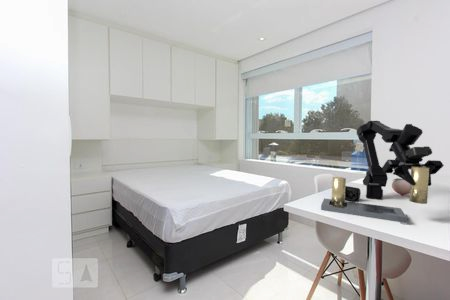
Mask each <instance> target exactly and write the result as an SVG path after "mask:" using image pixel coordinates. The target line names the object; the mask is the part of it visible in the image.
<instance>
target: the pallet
mask: <svg viewBox="0 0 450 300" xmlns="http://www.w3.org/2000/svg"><path fill="white" fill-rule="evenodd" d="M322 200H323V201H322V202H321V205H320V206H321V207H320V210H321V211H324V212H325V211H326V212H332V213H338V214H344V215H350V216H355V217H356V216H357V217H364V218H370V219H377V220H384V221H389V222H398V223H400V224H401V225H408V216H407V215H406V214H405V212H404V210H403V209H402V208H400V207H393V206H385V205H379V204H378V205H377V204H369V203H362V202H357V201H355V202H350V201H345V207H343V206H336V205H332V198H323V199H322Z"/></svg>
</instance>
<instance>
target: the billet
mask: <svg viewBox="0 0 450 300" xmlns="http://www.w3.org/2000/svg"><path fill="white" fill-rule="evenodd" d="M346 181H347V179H346V177H341V176H332V181H331V184H332V186H331V199H332V205H336V206H343V207H345V187H346V186H347V185H346V184H347V183H346Z"/></svg>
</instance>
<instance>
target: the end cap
mask: <svg viewBox="0 0 450 300" xmlns="http://www.w3.org/2000/svg"><path fill="white" fill-rule="evenodd" d="M361 194H362V193H361V189H360V188H359V187H353V186H349V185H346V187H345V201H348V202H358V201H359V200H360V198H361Z"/></svg>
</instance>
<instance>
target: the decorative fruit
mask: <svg viewBox="0 0 450 300" xmlns="http://www.w3.org/2000/svg"><path fill="white" fill-rule="evenodd" d="M391 188H392V189H393V191H394V192H396V193H397V194H398V195H400V196H406V195H410V184H409V183H408V182H407V181H405V180H404V179H402V178H400V177H397V178H394V179H393V180H392V182H391Z"/></svg>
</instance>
